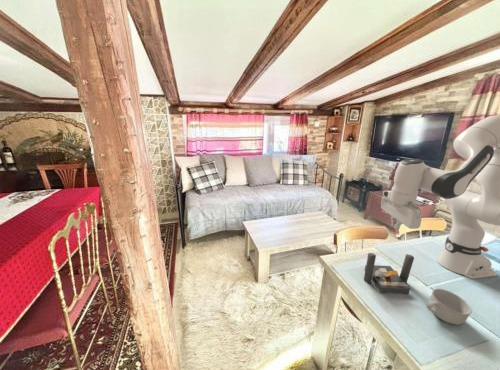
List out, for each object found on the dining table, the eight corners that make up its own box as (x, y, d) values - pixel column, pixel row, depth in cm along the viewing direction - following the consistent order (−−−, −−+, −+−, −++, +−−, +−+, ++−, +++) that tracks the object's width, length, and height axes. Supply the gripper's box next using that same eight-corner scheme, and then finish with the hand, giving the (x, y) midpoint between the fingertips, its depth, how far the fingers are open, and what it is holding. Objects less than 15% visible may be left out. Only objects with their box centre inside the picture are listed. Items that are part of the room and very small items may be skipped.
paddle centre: (388, 273, 93) (397, 270, 88) (389, 277, 92) (398, 274, 87) (383, 273, 93) (391, 270, 88) (384, 277, 92) (392, 274, 87)
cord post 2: (403, 279, 95) (410, 254, 91) (408, 284, 92) (415, 258, 88) (397, 279, 95) (404, 254, 91) (401, 284, 92) (408, 258, 88)
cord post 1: (369, 278, 95) (373, 253, 91) (372, 282, 92) (377, 257, 88) (362, 277, 96) (366, 252, 91) (365, 282, 93) (370, 257, 89)
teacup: (448, 305, 82) (454, 289, 79) (473, 331, 71) (481, 314, 69) (411, 302, 83) (416, 286, 81) (431, 327, 73) (438, 310, 70)
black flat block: (388, 270, 100) (390, 265, 99) (408, 293, 87) (410, 287, 86) (364, 270, 101) (365, 264, 100) (380, 292, 87) (381, 286, 86)
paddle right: (378, 273, 93) (385, 268, 88) (379, 277, 92) (387, 272, 87) (373, 273, 93) (380, 268, 88) (374, 276, 92) (381, 271, 87)
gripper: (430, 208, 74) (420, 240, 78) (394, 190, 93) (388, 217, 97) (413, 207, 74) (404, 240, 78) (380, 189, 93) (375, 216, 98)
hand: (395, 227), depth 88 cm, fingers closed
